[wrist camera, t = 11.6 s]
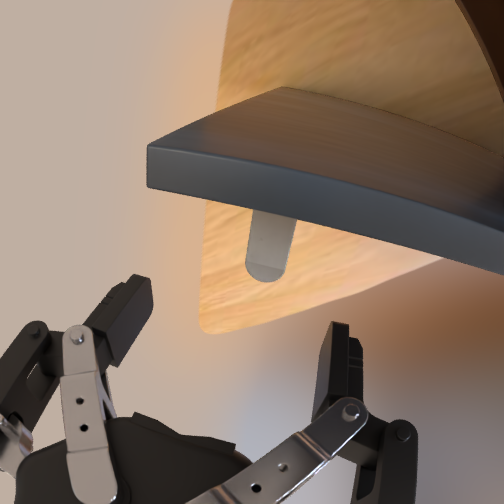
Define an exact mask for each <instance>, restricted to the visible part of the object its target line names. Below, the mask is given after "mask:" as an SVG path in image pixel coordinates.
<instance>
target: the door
mask: <svg viewBox="0 0 504 504" xmlns="http://www.w3.org/2000/svg"><path fill="white" fill-rule="evenodd" d="M147 187H148V188H152V189H157V190H162V191H167V192H172V193H177V194H182V195H187V196H192V197H197V198H202V199H207V200H212V201H217V202H221V203H226V204H231V205H236V206H240V207H245V208H249V209H253V214H252V221H251V227H250V234H249V240H248V247H247V254H246V261H245V266H246V269H247V271H248V273H249V274H250V275H251V276H252V277H253V278H255V279H256V280H258V281H261V282H274V281H276V280H278V279H280V278H281V277H282V276H283V274H284V272H285V268H286V264H287V260H288V256H289V252H290V247H291V243H292V239H293V235H294V230H295V226H296V222H297V219H298V220H302V221H306V222H310V223H314V224H319V225H323V226H327V227H331V228H335V229H339V230H343V231H347V232H351V233H355V234H359V235H363V236H367V237H370V238H374V239H378V240H382V241H386V242H389V243H393V244H397V245H401V246H404V247H408V248H412V249H415V250H419V251H423V252H426V253H430V254H433V255H437V256H440V257H444V258H447V259H451V260H454V261H458V262H461V263H464V264H468V265H471V266H475V267H478V268H481V269H485V270H488V271H491V272H494V273H498V274H501V275H504V157H502V156H500V155H498V154H495V153H493V152H491V151H489V150H487V149H485V148H483V147H480V146H478V145H476V144H473V143H471V142H469V141H466V140H464V139H462V138H459V137H457V136H454V135H452V134H449V133H447V132H444V131H442V130H439V129H436V128H434V127H431V126H428V125H426V124H423V123H420V122H417V121H414V120H411V119H408V118H405V117H402V116H399V115H396V114H393V113H389V112H386V111H383V110H380V109H376V108H373V107H369V106H366V105H362V104H358V103H354V102H351V101H347V100H343V99H339V98H334V97H330V96H326V95H321V94H317V93H312V92H307V91H302V90H297V89H292V88H286V87H280V88H277V89H274V90H271V91H268V92H266V93H263V94H260V95H258V96H255V97H252V98H250V99H247V100H245V101H242V102H240V103H237V104H235V105H232V106H230V107H227V108H225V109H222V110H220V111H218V112H215V113H213V114H211V115H208V116H206V117H204V118H202V119H200V120H197V121H195V122H193V123H191V124H188V125H186V126H184V127H182V128H180V129H178V130H176V131H174V132H172V133H170V134H167V135H165V136H164V137H161V138H160V139H157V140H156V141H153V142H151V143H150V144H148V145H147Z"/></svg>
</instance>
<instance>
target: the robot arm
mask: <svg viewBox="0 0 504 504" xmlns="http://www.w3.org/2000/svg"><path fill="white" fill-rule="evenodd" d="M152 310H153V296H152V288H151V280H150V278H147V277H143V276H140V275H136V274H133V275H132V276H131V277H130V278H129V279H128V281H127V282H126V283H123V282H121V283H119V284H118V285H116V286H114V287H113V288H112V289H111V290H110V291H109V292H108V293H107V295H106V297H104V299H103V300H102V301H101V303H99V305H98V306H97V307H96V308H95V310H94V311H93V312H92V313H91V314H90V316H89V317H88V318H87V320H86V321H85V322H84V323H83V324H82V325H75V326H72V327H70V328H69V329H67V330H66V331H65V332H59V331H49V329H48V327H47V325H46V324H45V323H44V322H42V321H32V322H30V323H28V324H27V325H26V326H25V327H24V328H23V329H22V330H21V332H20V333H19V334H18V336H17V337H16V338H15V339H14V341H13V342H12V344H11V345H10V346H9V348H8V349H7V350H6V352H5V353H4V354H3V356H2V357H1V358H0V471H3V472H6V473H8V474H9V475H11V476H12V477H14V478H15V479H16V495H15V501H14V504H280V503H281V502H283V501H284V500H286V499H287V498H288V497H289V496H291V495H292V494H293V493H294V492H296V491H297V490H298V489H299V488H300V487H301V486H303V485H304V484H305V483H306V482H307V481H308V480H309V479H311V478H312V477H313V476H314V475H315V474H316V473H318V472H319V471H320V470H321V469H322V468H323V467H324V466H325V465H326V464H327V463H329V462H330V461H331V460H332V459H333V458H334V457H335V456H336V455H338V456H340V457H342V458H345V459H347V460H349V461H352V462H354V463H356V464H357V467H356V474H355V480H354V486H353V492H352V498H351V503H350V504H415V496H416V483H417V463H418V462H417V461H418V433H417V430H416V428H415V427H414V426H413V425H412V424H411V423H410V422H408V421H406V420H400V419H399V420H394V421H392V422H391V423H388V422H386V421H383V420H381V419H379V418H376V417H375V416H373V415H371V414H370V413H369V412H368V410H367V408H366V406H365V405H364V402H363V348H362V346H361V344H360V342H359V340H358V339H357V338H351V337H349V324H344V323H339V322H334V321H331V323H330V325H329V328H328V331H327V333H326V336H325V338H324V341H323V344H322V347H321V350H320V355H319V362H318V372H317V381H316V389H315V397H314V404H313V412H312V419H311V422H312V423H311V424H310V425H309V426H307V427H306V428H305V429H304V430H302V431H301V432H296V433H294V434H293V435H291V436H290V437H289V438H287V439H286V440H285V441H283V442H282V443H281V444H279V445H278V446H277V447H276V448H274V449H273V450H271V451H270V452H269V453H267V454H266V455H265V456H263V457H262V458H260V459H259V460H257V461H256V462H255V463H252V462H251V461H250V460H249V459H248V458H247V457H246V456H244V455H243V454H241V453H240V452H238V451H236V450H235V446H236V444H234V443H230V442H226V441H223V440H219V439H215V438H212V437H203V436H189V435H181V434H178V433H177V432H175V431H174V430H172V429H171V428H169V427H167V426H166V425H164V424H163V423H161V422H159V421H158V420H156V419H153V418H150V417H147V416H145V415H142V414H140V413H137V412H134V414H133V416H132V417H118V418H117V415H116V412H115V409H114V406H113V402H112V397H111V392H110V386H109V381H108V376H107V371H106V369H107V368H108V366H109V364H110V365H112V366H115V367H118V366H119V365H120V363H121V362H122V360H123V358H124V357H125V355H126V354H127V352H128V350H129V349H130V347H131V345H132V344H133V342H134V341H135V339H136V338H137V336H138V334H139V333H140V331H141V330H142V328H143V326H144V325H145V323H146V322H147V320H148V319H149V317H150V315H151V313H152ZM36 364H37V365H36ZM35 365H36V366H35ZM34 366H35V368H34ZM33 368H34V369H33ZM32 369H33V371H32ZM31 371H32V372H31ZM30 372H31V374H30ZM29 374H30V375H29ZM28 376H29V377H28ZM27 377H28V378H27ZM59 383H60V391H61V403H62V412H63V421H64V429H65V436H66V439H64V440H62V441H59V442H57V443H55V444H52V445H50V446H47V447H45V448H42V449H41V450H38V451H35V452H33V453H31V452H32V451H33V437H32V434H31V433H32V431H33V429H34V427H35V426H36V424H37V422H38V420H39V418H40V416H41V415H42V413H43V411H44V409H45V407H46V406H47V404H48V402H49V400H50V399H51V397H52V395H53V393H54V392H55V390H56V388H57V387H58V385H59Z"/></svg>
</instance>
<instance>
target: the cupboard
mask: <svg viewBox="0 0 504 504" xmlns="http://www.w3.org/2000/svg"><path fill="white" fill-rule="evenodd" d="M455 1H456V3H457V5H458V6H459V8H460V10H461V11H462V13H463V15H464V16H465V18H466V20H467V22H468V24H469V25H470V27H471V29H472V31H473V33H474V35H475V37H476V39H477V41H478V43H479V45H480V47H481V49H482V51H483V53H484V55H485V57H486V60H487V62H488V64H489V66H490V69H491V71H492V73H493V76H494V78H495V81H496V83H497V86H498V88H499V91H500V93H501V96H502V99H503V101H504V0H455Z"/></svg>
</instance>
